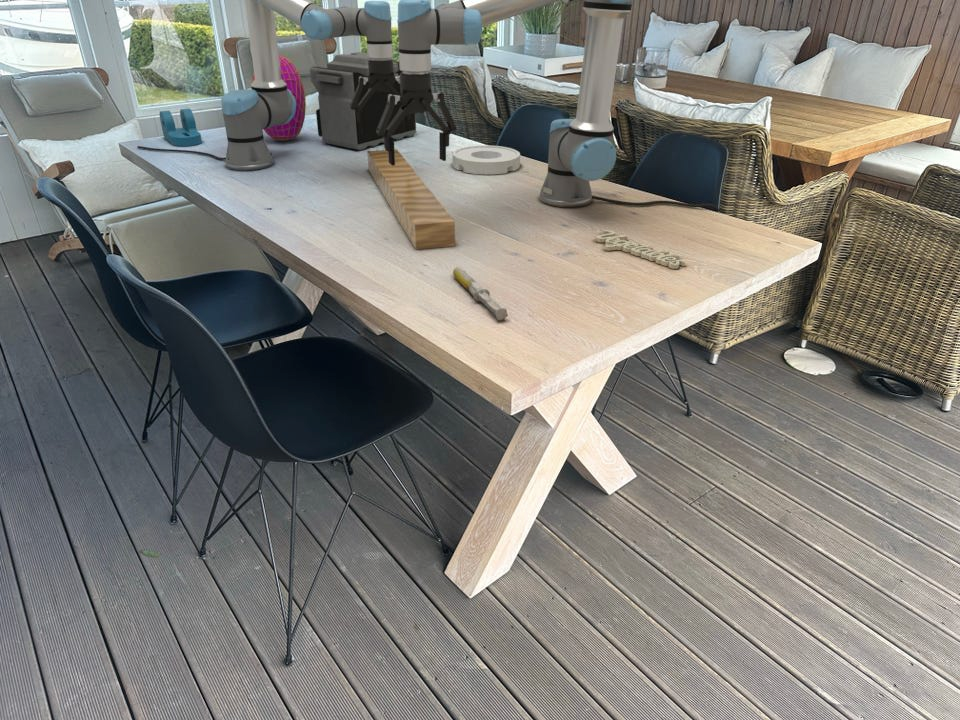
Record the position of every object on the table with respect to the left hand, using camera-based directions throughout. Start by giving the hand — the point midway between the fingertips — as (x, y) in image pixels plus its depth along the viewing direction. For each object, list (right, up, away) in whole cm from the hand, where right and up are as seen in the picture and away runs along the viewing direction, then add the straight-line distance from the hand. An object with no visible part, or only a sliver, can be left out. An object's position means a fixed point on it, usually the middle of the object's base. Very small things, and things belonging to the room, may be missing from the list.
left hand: (384, 131), depth 217 cm
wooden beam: (+8, -26, -17) cm, 33 cm away
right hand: (+14, -22, -43) cm, 50 cm away
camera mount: (-83, +11, +45) cm, 95 cm away
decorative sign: (+68, -46, -49) cm, 95 cm away
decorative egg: (-45, +13, +48) cm, 67 cm away
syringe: (+30, -59, -72) cm, 98 cm away
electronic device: (-13, +14, +50) cm, 54 cm away
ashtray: (+32, -5, +19) cm, 38 cm away
